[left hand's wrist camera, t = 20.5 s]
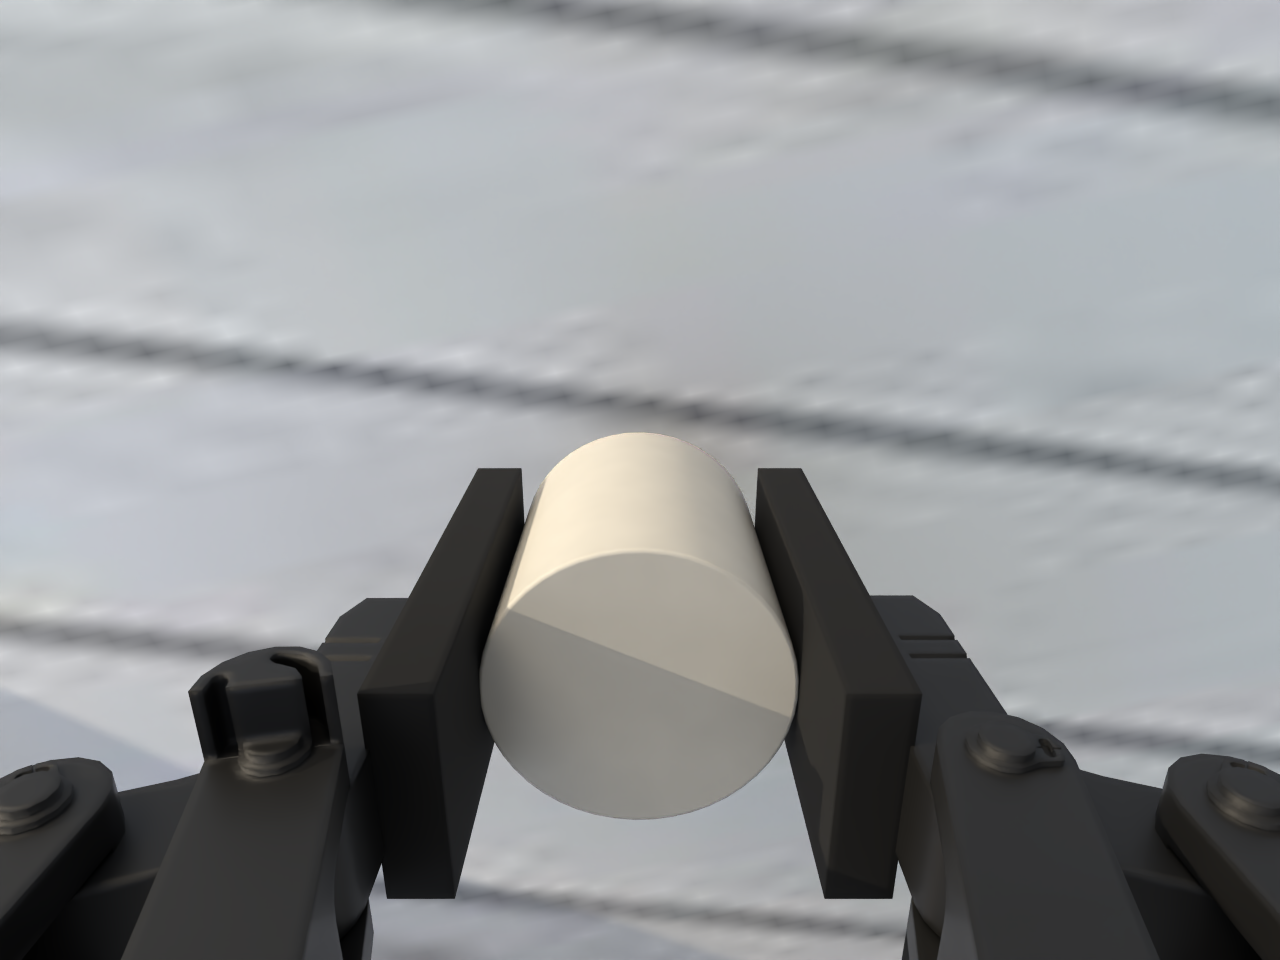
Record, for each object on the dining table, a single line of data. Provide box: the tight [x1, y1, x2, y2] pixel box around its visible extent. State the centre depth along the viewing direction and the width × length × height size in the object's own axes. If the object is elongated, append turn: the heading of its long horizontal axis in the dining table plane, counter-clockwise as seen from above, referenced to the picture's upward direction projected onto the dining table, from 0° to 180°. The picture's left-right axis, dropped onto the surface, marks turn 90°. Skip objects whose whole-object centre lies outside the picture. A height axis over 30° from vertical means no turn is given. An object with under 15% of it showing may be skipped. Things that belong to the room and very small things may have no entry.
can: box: [479, 432, 799, 820], centre depth 13 cm, size 4×4×5 cm
